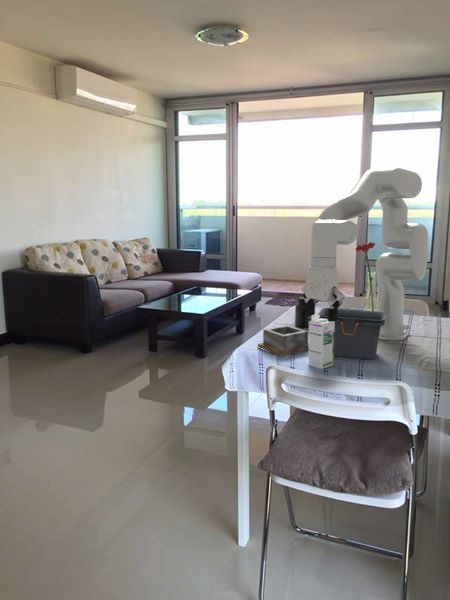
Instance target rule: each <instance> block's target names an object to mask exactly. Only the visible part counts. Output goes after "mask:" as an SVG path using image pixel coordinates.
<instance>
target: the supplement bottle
mask: <svg viewBox="0 0 450 600" xmlns="http://www.w3.org/2000/svg"><path fill="white" fill-rule="evenodd" d="M312 317H313V315H310V316H307V315H306V303H305V298H304V297H303V296H299V297H298V298H297V304H296V305H295V307H294V327H296V328H299V329H309V321H313V320H312Z"/></svg>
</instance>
